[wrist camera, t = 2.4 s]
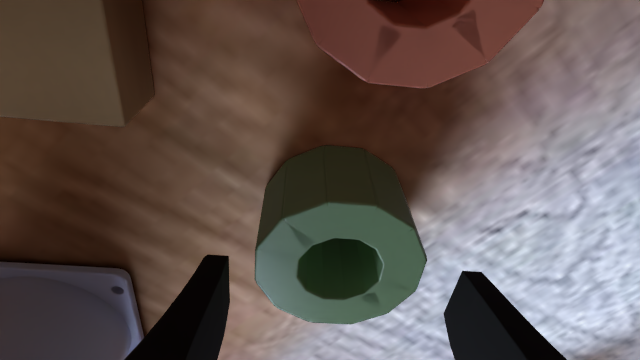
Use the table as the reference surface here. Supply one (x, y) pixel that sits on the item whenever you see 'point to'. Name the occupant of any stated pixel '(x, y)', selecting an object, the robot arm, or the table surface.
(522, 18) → the coral ring
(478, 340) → the robot arm
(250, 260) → the table surface
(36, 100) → the birch block
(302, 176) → the green ring
